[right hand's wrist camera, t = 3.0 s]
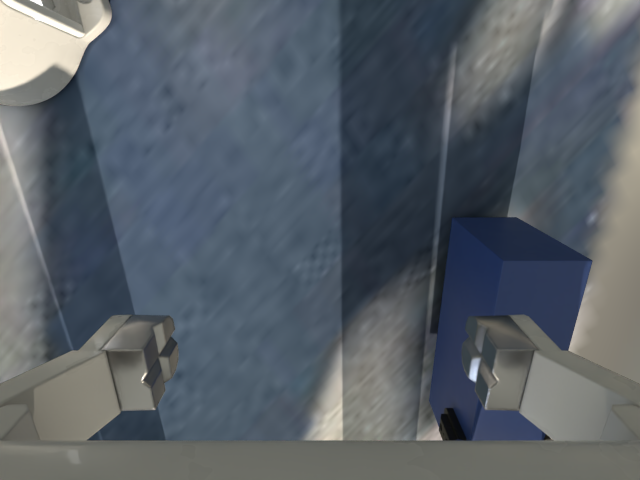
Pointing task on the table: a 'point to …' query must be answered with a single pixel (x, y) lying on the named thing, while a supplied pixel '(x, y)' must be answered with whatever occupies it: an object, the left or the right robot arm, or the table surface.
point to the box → (501, 310)
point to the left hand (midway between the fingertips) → (482, 414)
